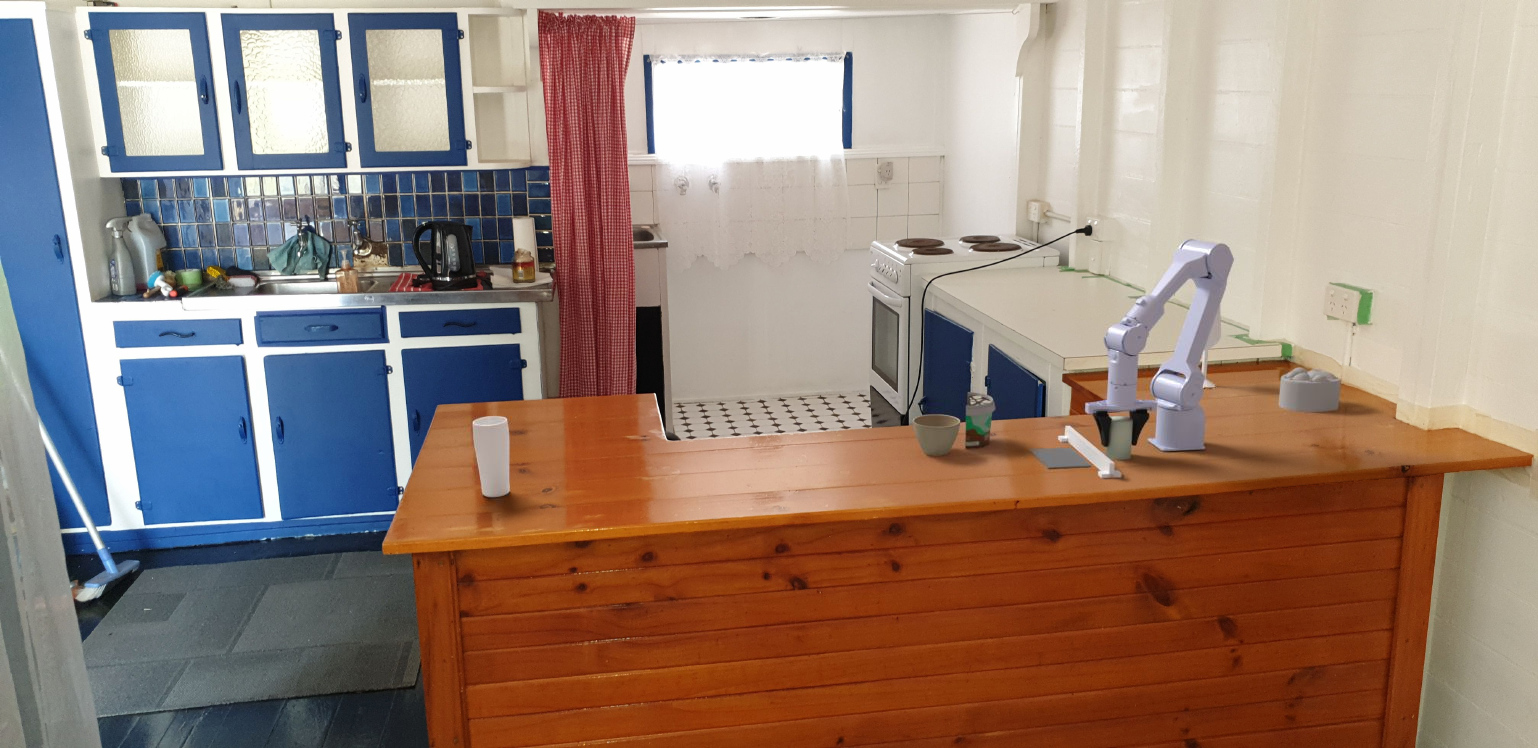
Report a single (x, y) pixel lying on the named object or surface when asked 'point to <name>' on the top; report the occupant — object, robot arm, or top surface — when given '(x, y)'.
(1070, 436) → the low wall
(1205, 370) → the champagne flute
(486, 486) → the drinking glass
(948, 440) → the flower pot
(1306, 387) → the lumpy-topped squat cylinder
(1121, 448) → the green cylinder
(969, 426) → the food container
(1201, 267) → the robot arm
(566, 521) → the top surface
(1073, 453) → the mat
